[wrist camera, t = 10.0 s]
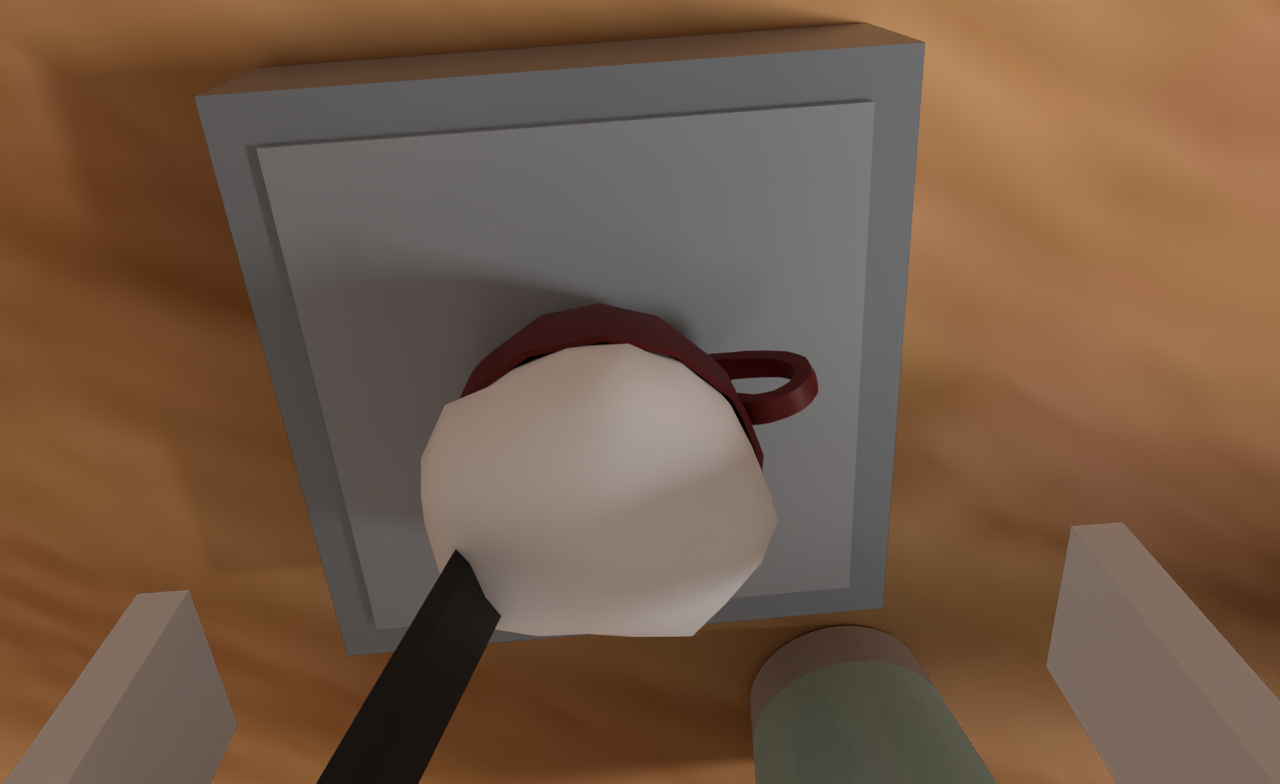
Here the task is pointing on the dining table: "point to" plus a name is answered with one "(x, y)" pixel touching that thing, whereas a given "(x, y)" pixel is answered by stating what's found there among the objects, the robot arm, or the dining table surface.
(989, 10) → the dining table surface
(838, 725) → the coffee cup
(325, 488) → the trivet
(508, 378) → the cocoa
